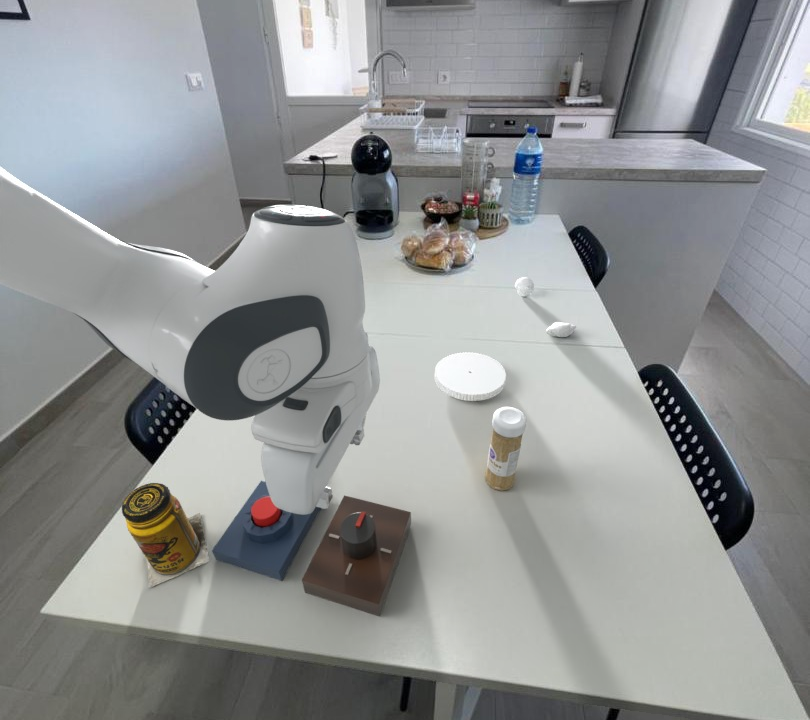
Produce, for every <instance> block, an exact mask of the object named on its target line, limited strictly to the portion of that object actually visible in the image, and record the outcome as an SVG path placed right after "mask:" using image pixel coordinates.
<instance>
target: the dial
mask: <svg viewBox="0 0 810 720" xmlns="http://www.w3.org/2000/svg"><path fill="white" fill-rule="evenodd" d="M340 534H341V540H342V546H343V550H344V552H345V554H346V555H347V556H349V557H350V558H352V559H364V558H366V557H368V556H370V555H371V554H372V553H373V552H374V550H375V548H376V544H377V540H376V530H375V523H374V520H373V519H372V518H371V517H370V516H369V515H367V514H366V512H361V513H353V514H351V515H349V516H347V517H346V518H345V519H344V520H343V522H342V523H341V526H340Z"/></svg>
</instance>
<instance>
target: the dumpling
mask: <svg viewBox="0 0 810 720" xmlns="http://www.w3.org/2000/svg"><path fill="white" fill-rule="evenodd" d="M577 328H578V325H575V324H573V323H569V322H563V321H555V322H553V323H552V324H551V325H550V326H549V327H548V328H547V329H546V330H545V333H546V334H547V335H549V336H552V337H559V338H567V337H569V336H571V335H572V334H573V333H574V332H575V330H576V329H577Z"/></svg>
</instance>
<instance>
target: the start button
mask: <svg viewBox="0 0 810 720" xmlns="http://www.w3.org/2000/svg"><path fill="white" fill-rule="evenodd" d="M251 514H252V517H253V519H254V522H255V523H256V524H257V525H258V526H261V527H267V526H271V525H273V524H274V523H275V522H277V520H278V519H279V517H280V514H281V511H280V509H279V508H277V507H276V506H275V505H274V504H273V502H272V500H271V498H270V497H263V498H261V499H259V500H257V501H256V502H255V503H254V504H253V506H252V509H251Z"/></svg>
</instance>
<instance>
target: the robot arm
mask: <svg viewBox="0 0 810 720" xmlns="http://www.w3.org/2000/svg"><path fill="white" fill-rule="evenodd" d="M359 251H360V250H359V247H358V244H357V239H356V237H355V234H354V231H353V229H352V227H351V225H350V224H349V222H348V221H347V219H345V218H344V217H342V215H340V214H339V213H336V212H333V211H331V210H330V211H329V210H327V209H324V208H320V207H316V206H310V205H307V206H306V205H299V204H275V205H270V206H266V207H263V208H261V209H258V210H256V211H255V212H253V213H252V215H251V217H250V223H249V227H248V230H247V232H246V234H245V235H244V237H243V238H242V240H241V242H240V243H239V245H238V246H237V248H236V249H234V251H233V253H231V255H229V257H228V258H227V259H226V260H225V261H224V262H223V263H222V264H221V265H220V266H219V267H218V268H217V269H215V270H213V269H211V268H209V267H208V266H207V267H206V266H205V265H203V264H202V263H200V262H199V261H196V260H194V259H193V258H191V257H189V256H187V255H186V254H184V253H182V252H179V251H176V250H173V249H169V248H165V247H159V246H153V245H152V246H151V245H144V244H136V243H133V242H126V241H124V240H121V239H119V238H117V237H114V236H113V235H111V234H108V233H107V232H105V231H103V230H102V229H100V228H99V227H97V226H96V225H94V224H92V223H90V222H89V221H87V220H85V218H82V217H81V216H79V215H77V214H75V213H74V212H72V211H71V210H69V209H67V208H66V207H64V206H62V205H61V204H59V203H57V202H55V200H52V199H50V198H49V197H48V196H46V195H43V194H42V193H41V192H39V191H37V190H35V189H34V188H32V187H30V186H29V185H28V184H26V183H25V182H22V181H21V180H19V179H18V178H16V177H15V176H13V174H11V173H9V172H8V171H7V170H6V169H4V168H3V167H1V166H0V285H1V286H3V287H6V288H8V289H11V290H13V291H16V292H18V293H22V294H23V295H26V296H29V297H32V298H34V299H36V300H40V301H42V302H44V303H47V304H50V305H52V306H55V307H57V308H60V309H63V310H65V311H68V312H70V313H72V314H74V315H76V316H77V317H79V318H80V319H82V320H83V321H84V322H85V323H86V324H87V325H88V326H89V327H90V329H92V330H93V331H94V332H95V334H96V335H97V336H98V337H99V338H100V339H101V340H102V341H103V342H104V343H105V344H106V345H107V346H108V347H109V348H111V349H112V350H114V351H115V352H117V353H118V354H120V355H122V356H123V357H125V358H126V359H128V360H130V361H131V362H133V363H135V364H136V365H138V366H139V367H140V368H142V369H143V370H144V371H146V372H147V373H148V374H149V375H151V376H153V377H154V378H155V379H156V380H158V381H159V382H161V383H162V384H163V385H164V386H166V388H167V389H169V390H170V391H171V392H173V393H174V394H175V395H177V396H178V397H180V399H182V400H183V401H185V402H187V404H189V405H191V406H193V408H195V409H196V410H198V411H199V412H201V414H204V415H205V416H207V417H209V418H212V419H215V420H218V421H219V420H220V421H227V422H228V421H239V420H244V419H248V418H249V419H250V418H251V417H253V419H252V421H251V426H250V429H251V434H252V436H253V439H255V440H256V441H258V442H261V443H263V444H262V448H261V451H260V452H261V453H260V463H261V470H262V474H263V477H264V481H265V482H266V485H267V489H268V492H269V495H270V498H271V500H272V502H273V504H274V505H275V506H276V507H277V508H279V509H281V510H284V511H287V512H290V513H295V514H301V515H306V514H311V513H312V512H313V511H314V509H315V507H320V508H321V509H324V510H326V509H328V507H329V505H330V504H331V501H332V499H333V498H334V495H333V489H332V488H331V487H329V486H328V484H329V483H330V481H331V480H332V477H333V475H334V473H335V472H336V470H337V468H338V467H339V465H340V463H341V461H342V459H343V457H344V455H345V454H346V452H347V450H348V448H349V446H350V445H355V446H360V445H361V444H362V441H363V439H364V438H365V423H366V419H367V413H368V411H369V409H370V407H371V405H372V403H373V402H374V400H375V398H376V396H377V394H378V393H379V390H380V384H381V376H380V375H381V374H380V368H379V361H378V356H377V355H378V354H377V352H376V349H375V348H374V346H371V345H370V343H369V335H368V332H366V331H365V329H364V324H363V323H364V322H363V321H364V317H365V313H366V295H365V283H364V273H363V267H362V262H361V256H360V252H359Z"/></svg>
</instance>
